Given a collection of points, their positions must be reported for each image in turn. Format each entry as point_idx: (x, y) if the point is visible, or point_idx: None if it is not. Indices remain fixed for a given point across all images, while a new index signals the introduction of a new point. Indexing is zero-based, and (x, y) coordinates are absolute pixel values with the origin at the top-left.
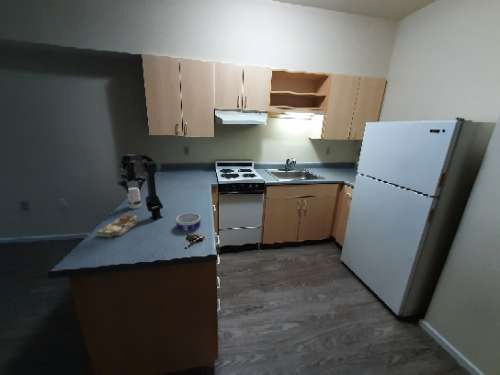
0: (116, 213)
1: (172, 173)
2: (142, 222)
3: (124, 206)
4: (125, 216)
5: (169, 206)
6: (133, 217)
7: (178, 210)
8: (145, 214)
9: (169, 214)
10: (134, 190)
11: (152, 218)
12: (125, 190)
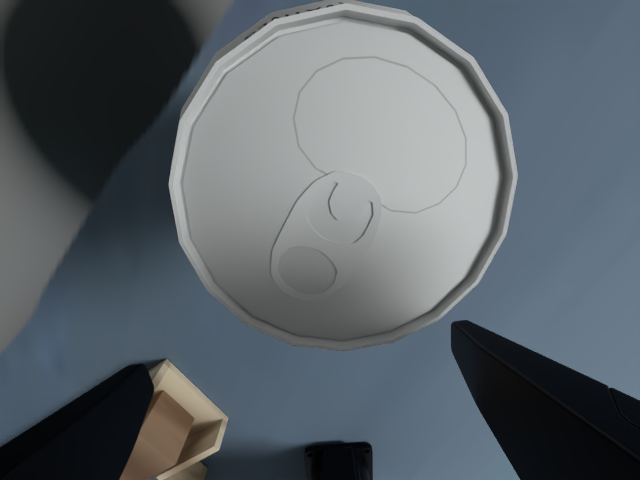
0: (114, 198)
1: None
2: (241, 470)
3: (230, 38)
4: (125, 470)
5: None
6: (189, 465)
7: (507, 462)
8: (309, 383)
9: (424, 475)
10: (328, 341)
11: (308, 477)
12: (26, 433)
